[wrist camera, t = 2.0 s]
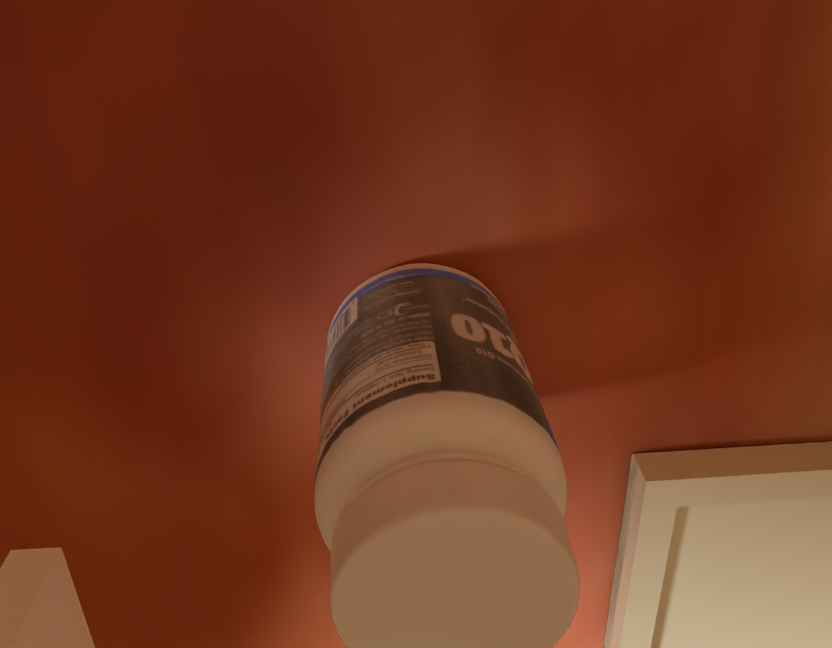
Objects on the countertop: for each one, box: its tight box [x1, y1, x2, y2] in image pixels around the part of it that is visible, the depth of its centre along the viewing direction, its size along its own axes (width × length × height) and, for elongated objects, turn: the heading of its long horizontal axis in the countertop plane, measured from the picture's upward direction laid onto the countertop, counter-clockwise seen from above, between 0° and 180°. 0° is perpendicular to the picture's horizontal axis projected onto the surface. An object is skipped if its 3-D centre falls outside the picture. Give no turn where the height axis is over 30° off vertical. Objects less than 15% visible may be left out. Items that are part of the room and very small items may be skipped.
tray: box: [604, 441, 832, 648], centre depth 24 cm, size 12×12×1 cm
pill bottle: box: [314, 263, 580, 648], centre depth 15 cm, size 5×5×8 cm
